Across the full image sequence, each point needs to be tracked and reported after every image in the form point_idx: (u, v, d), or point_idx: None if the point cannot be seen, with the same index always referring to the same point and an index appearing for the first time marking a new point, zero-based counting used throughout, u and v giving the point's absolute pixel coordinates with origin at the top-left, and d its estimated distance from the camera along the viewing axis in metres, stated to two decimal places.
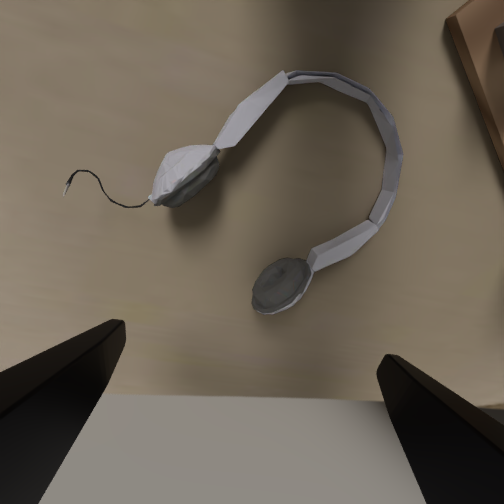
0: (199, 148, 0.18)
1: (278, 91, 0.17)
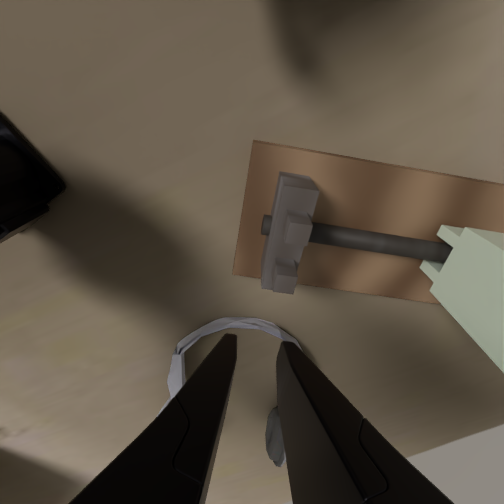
0: None
1: (180, 362, 0.26)
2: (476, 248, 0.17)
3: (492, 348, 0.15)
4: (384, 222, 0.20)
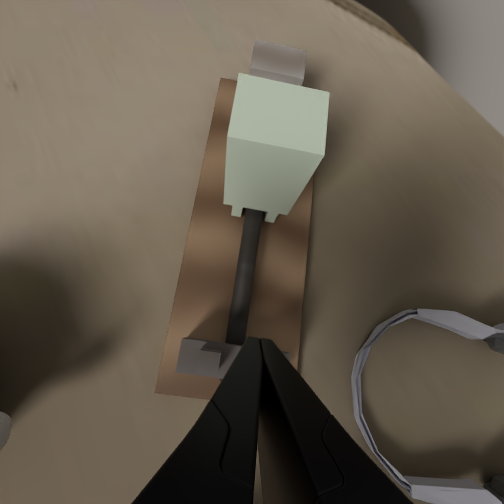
0: None
1: (424, 487, 0.20)
2: (233, 196, 0.20)
3: (302, 175, 0.17)
4: (231, 262, 0.23)
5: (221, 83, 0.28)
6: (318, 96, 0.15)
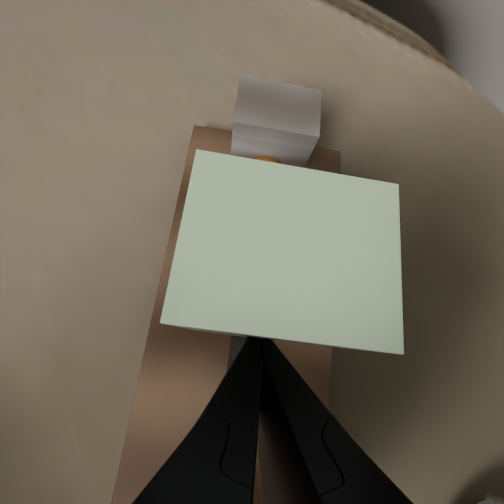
0: None
1: None
2: None
3: (338, 347, 0.08)
4: None
5: (195, 133, 0.19)
6: (375, 196, 0.07)
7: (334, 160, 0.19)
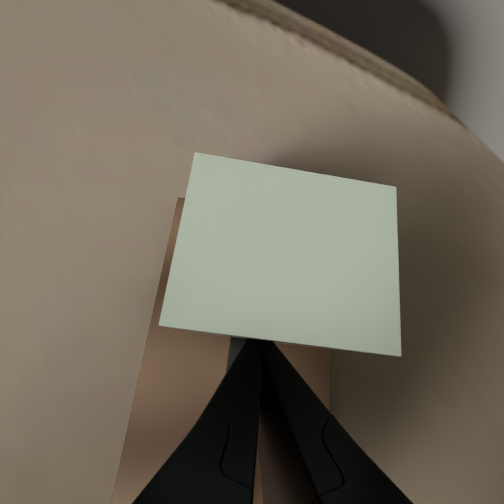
0: None
1: None
2: None
3: (337, 349, 0.08)
4: None
5: (179, 207, 0.17)
6: (373, 198, 0.07)
7: None
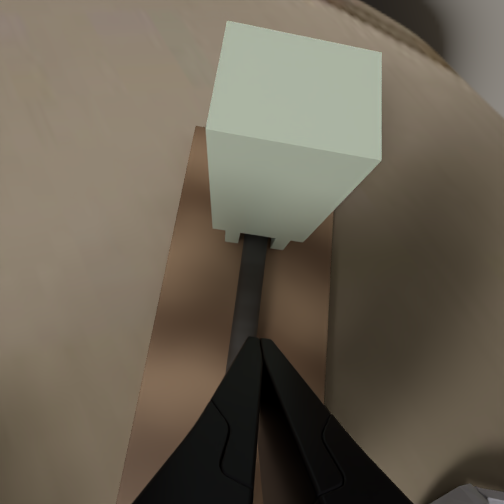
0: None
1: None
2: (226, 219, 0.14)
3: (335, 192, 0.10)
4: None
5: (196, 134, 0.19)
6: (363, 59, 0.09)
7: None
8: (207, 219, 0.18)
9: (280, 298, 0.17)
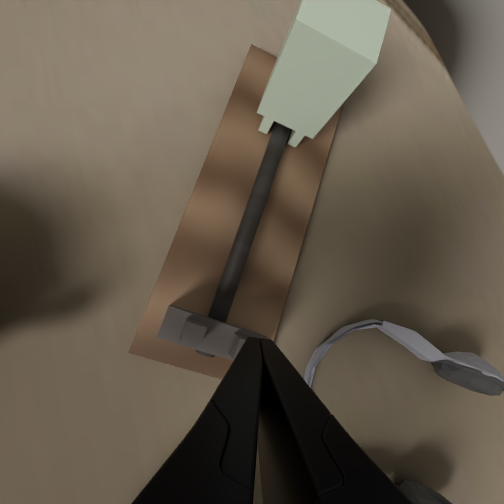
0: None
1: None
2: (270, 103, 0.21)
3: (346, 87, 0.18)
4: (226, 239, 0.23)
5: (251, 50, 0.26)
6: (381, 10, 0.17)
7: None
8: (248, 112, 0.25)
9: (287, 178, 0.25)
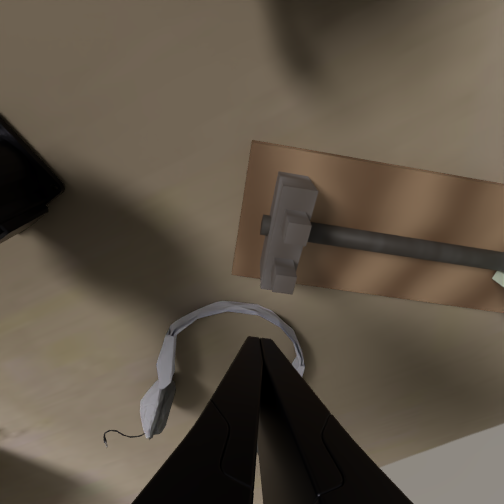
0: (152, 397, 0.26)
1: (172, 344, 0.25)
2: None
3: None
4: (383, 222, 0.20)
5: None
6: None
7: None
8: None
9: (453, 273, 0.22)
